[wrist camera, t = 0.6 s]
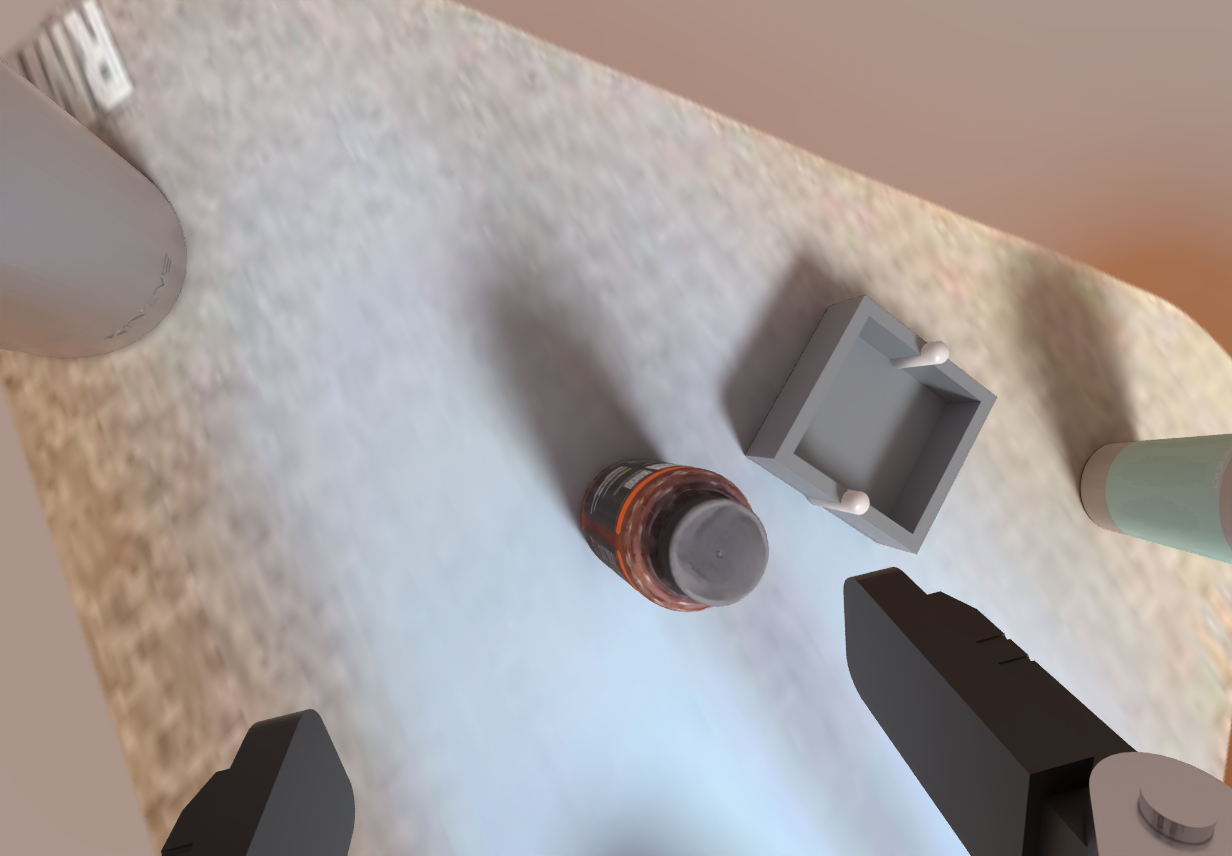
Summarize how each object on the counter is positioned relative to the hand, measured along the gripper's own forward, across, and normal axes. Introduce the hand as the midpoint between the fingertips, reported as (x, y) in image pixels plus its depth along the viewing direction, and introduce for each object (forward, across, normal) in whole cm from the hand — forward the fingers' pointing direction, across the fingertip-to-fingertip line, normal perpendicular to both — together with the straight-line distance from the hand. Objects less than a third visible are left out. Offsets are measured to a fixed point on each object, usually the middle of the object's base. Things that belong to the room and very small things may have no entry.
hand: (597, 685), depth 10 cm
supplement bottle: (+22, -3, +10) cm, 25 cm away
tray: (+25, -17, +9) cm, 31 cm away
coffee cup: (+25, -35, +18) cm, 47 cm away
